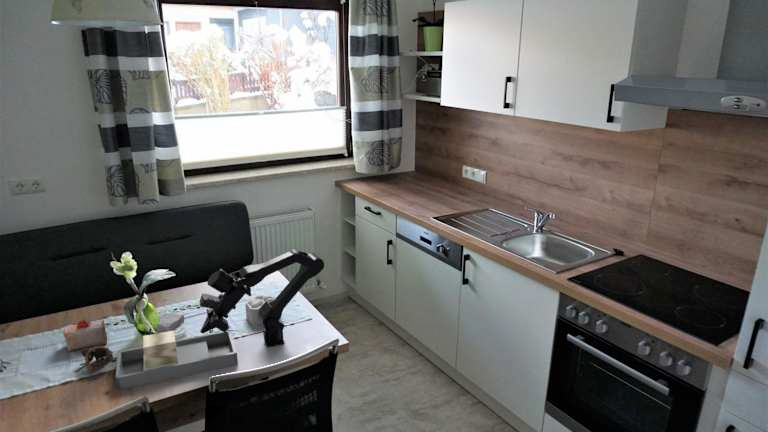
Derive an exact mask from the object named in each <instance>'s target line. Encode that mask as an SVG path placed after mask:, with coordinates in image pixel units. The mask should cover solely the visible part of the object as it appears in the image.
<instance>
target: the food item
mask: <svg viewBox="0 0 768 432" xmlns="http://www.w3.org/2000/svg"><path fill="white" fill-rule="evenodd" d="M105 325H106V324H105V320H104V319H99V320H94V321H89V320H86V319H85V318H82V319H81V320H80V321H78V322H77V324H73V325H69V326H66V327H65V329H64V330H63V331H62V335H63V337H64V342H65V346H66V349H67V350H68V352H69V353H70V352H74V351H77V350H82V349H84V348H91V347H92V348H93V347H97V346H102V345H106V344H108V336H107V332H106V331H107V330H106V327H105Z"/></svg>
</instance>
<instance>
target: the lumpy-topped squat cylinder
mask: <svg viewBox="0 0 768 432" xmlns="http://www.w3.org/2000/svg"><path fill="white" fill-rule="evenodd" d="M276 297H277V296H270V295H264V296H263V295H261V294H258V295H256V296H255V297H253V298H251V299H248V300H246V301H245V315H246V320H247V321H248V322H249V324H250V325H251V326H261V325H262V326H263V324H262V323H261V321H260V320H259V318H258V312H259V308H261V307H262V306H263V304H264V303H265V302H266V301H267V302H268V303H270V302H272V301H274V300H275V299H276Z"/></svg>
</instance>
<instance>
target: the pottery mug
mask: <svg viewBox="0 0 768 432" xmlns="http://www.w3.org/2000/svg"><path fill="white" fill-rule="evenodd" d="M113 353H114V352H113V351H112V350H110V348H109V347H107V346H102V345H98V346H93V347H92V348H90V347H87V348H82V349H81V351H80V354H81V355H82V356H83V357H84V359H85V360H84V363H85V365H86V366H87V368H86V370H87V372H88V373H90V374H92V373H93V372H96V371H99V370H101V369H104V368H105V367H106V366H107V365H108V364H109V363H110V362H113V358H114V355H113ZM103 358H104V359H103ZM94 359H95V360H96V361H98V360H100V359H102V360H101V361H98V362H92V361H93V360H94Z"/></svg>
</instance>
